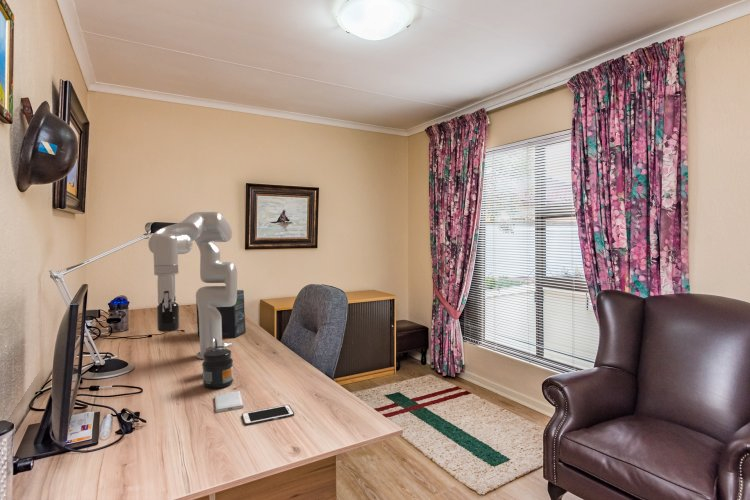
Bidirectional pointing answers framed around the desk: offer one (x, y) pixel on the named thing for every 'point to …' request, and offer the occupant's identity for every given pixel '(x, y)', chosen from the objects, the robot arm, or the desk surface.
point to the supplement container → (217, 368)
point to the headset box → (231, 317)
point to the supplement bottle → (168, 326)
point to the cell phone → (267, 414)
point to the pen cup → (214, 346)
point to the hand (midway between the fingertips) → (168, 320)
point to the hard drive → (228, 401)
